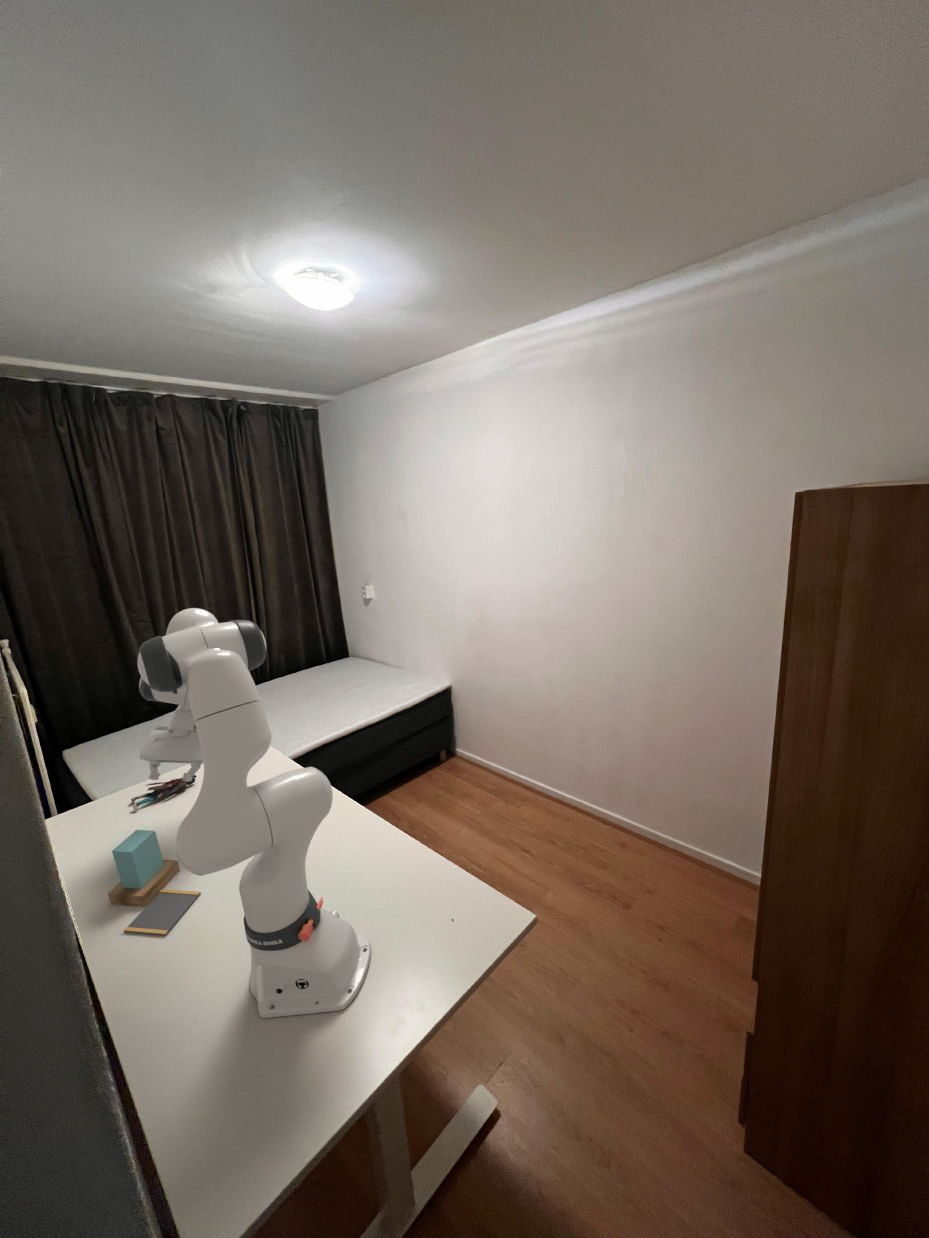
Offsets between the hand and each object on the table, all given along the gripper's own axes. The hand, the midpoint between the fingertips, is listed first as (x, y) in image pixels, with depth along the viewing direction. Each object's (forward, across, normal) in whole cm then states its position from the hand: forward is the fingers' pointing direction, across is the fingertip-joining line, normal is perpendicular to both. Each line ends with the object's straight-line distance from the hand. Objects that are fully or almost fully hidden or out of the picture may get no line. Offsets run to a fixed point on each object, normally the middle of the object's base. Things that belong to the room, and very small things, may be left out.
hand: (169, 780), depth 122 cm
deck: (+24, 0, +5) cm, 24 cm away
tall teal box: (+22, 0, +3) cm, 22 cm away
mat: (+28, +10, 0) cm, 30 cm away
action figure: (0, -24, +30) cm, 38 cm away
